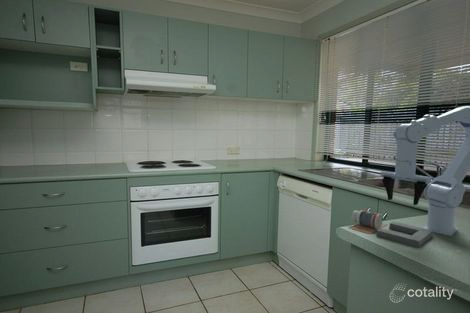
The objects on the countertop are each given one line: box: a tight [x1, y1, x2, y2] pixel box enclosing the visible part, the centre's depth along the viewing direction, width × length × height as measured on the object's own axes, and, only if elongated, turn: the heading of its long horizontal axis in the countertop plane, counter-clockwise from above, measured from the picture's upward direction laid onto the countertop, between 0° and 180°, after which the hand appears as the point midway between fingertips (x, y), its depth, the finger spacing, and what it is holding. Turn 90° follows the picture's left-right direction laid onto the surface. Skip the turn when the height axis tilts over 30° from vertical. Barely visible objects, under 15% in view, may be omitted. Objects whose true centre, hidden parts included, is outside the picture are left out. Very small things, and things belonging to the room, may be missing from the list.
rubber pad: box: [349, 222, 387, 235], centre depth 100 cm, size 14×7×1 cm, turn 132°
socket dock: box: [376, 221, 434, 248], centre depth 91 cm, size 14×12×2 cm
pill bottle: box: [351, 209, 383, 229], centre depth 100 cm, size 5×5×9 cm
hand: (402, 201), depth 95 cm, fingers open, 7 cm apart
